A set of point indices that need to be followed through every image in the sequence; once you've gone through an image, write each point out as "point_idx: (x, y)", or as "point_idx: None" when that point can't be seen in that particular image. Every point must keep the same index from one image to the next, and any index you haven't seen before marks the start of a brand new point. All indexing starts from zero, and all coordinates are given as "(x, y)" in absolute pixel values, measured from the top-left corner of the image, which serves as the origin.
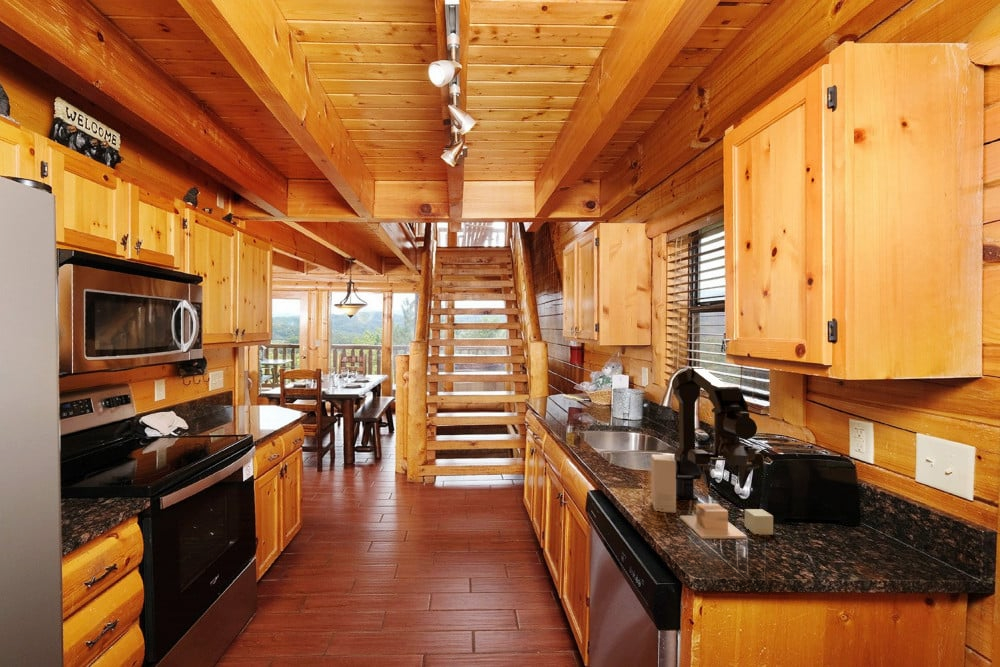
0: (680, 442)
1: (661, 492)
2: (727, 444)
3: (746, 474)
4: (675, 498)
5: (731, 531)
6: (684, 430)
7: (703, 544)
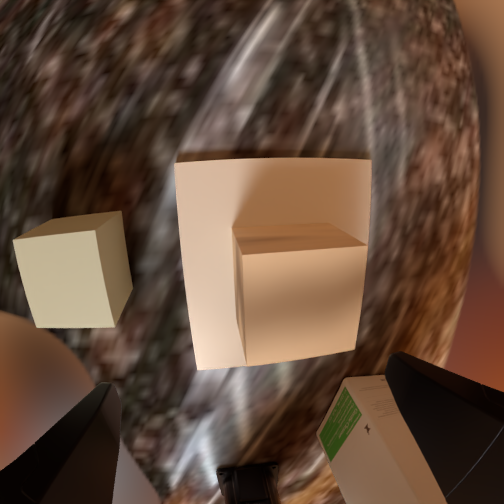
0: None
1: None
2: None
3: (34, 473)
4: (366, 410)
5: (222, 210)
6: None
7: (379, 110)
